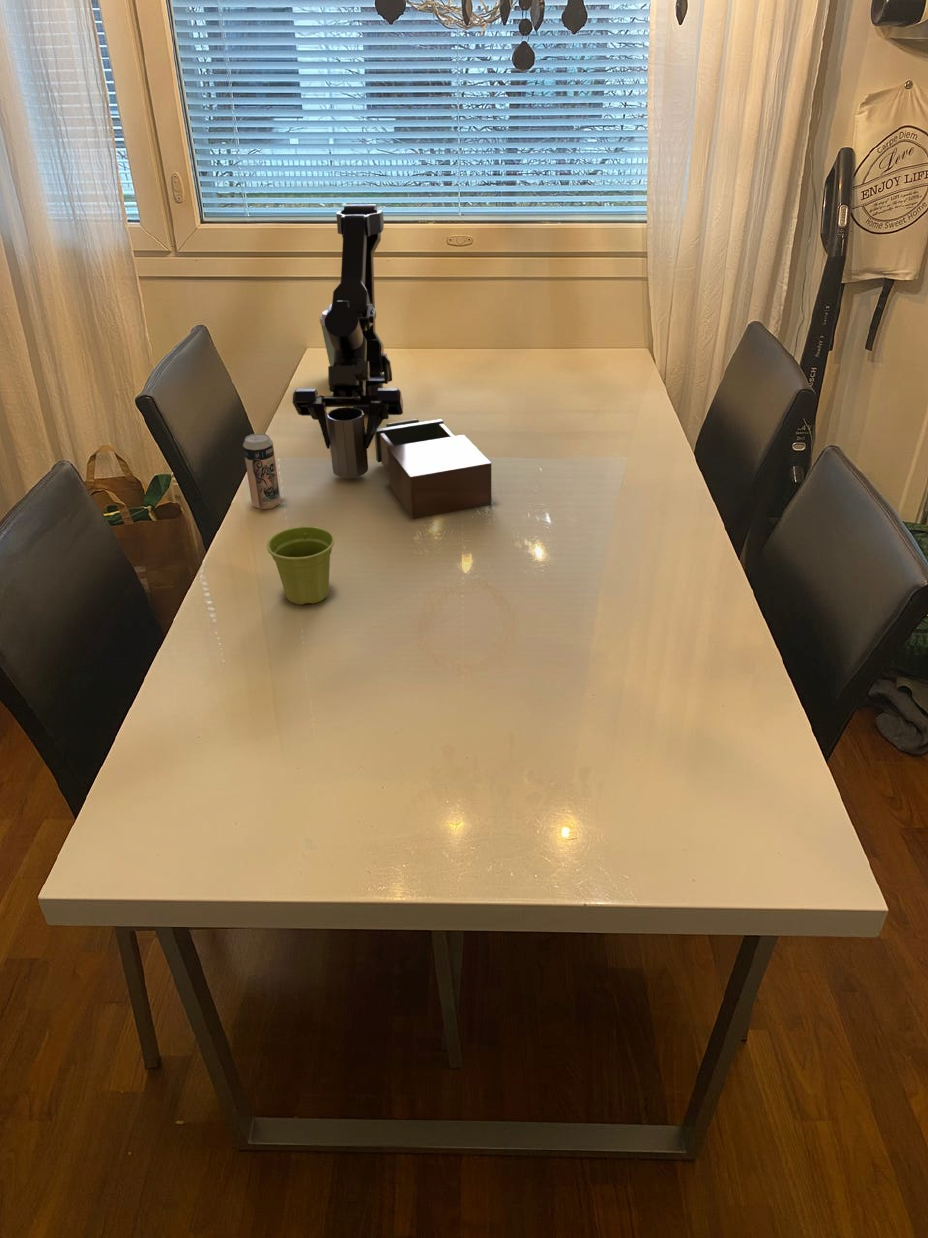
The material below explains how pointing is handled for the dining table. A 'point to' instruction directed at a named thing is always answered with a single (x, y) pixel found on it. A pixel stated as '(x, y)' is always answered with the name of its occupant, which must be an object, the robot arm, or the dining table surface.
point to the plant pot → (303, 562)
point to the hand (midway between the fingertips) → (347, 447)
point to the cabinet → (439, 476)
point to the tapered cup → (347, 442)
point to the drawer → (407, 435)
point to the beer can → (261, 471)
